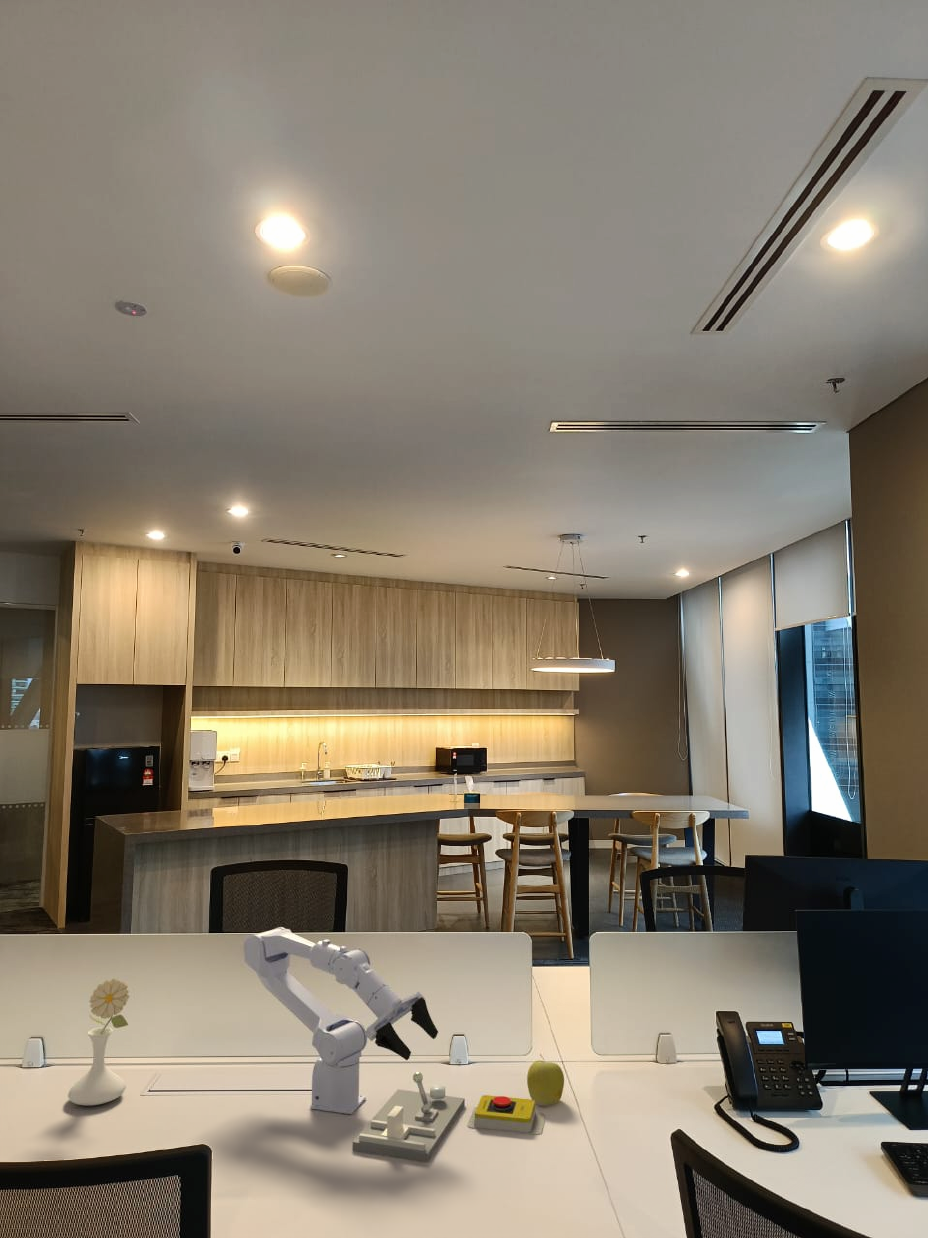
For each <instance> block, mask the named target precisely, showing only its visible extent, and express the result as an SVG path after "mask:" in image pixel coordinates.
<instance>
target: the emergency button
mask: <svg viewBox="0 0 928 1238" xmlns="http://www.w3.org/2000/svg"><path fill="white" fill-rule="evenodd" d="M546 1117H547V1115H546V1113H543V1112H539V1111H538V1112H537V1111H536V1104H535V1101H534V1100H532V1099H530V1098H519V1097H511V1096H510V1097H509V1096H508V1097H507V1096H504V1095H498V1096H497V1095H491V1094H490V1095H489V1094H483V1095H481V1096H480V1100H479V1102H478V1104H477V1106H476V1107H474V1108H473V1111H472V1113H471V1115H470V1117H469V1120H468V1122H467V1124H466V1125H467V1126H466V1127H467V1128H468V1129H469V1128H470V1129H474V1130H475V1129H476V1130H477V1129H478V1130H486V1131H493V1132H494V1131H497V1132H504V1133H505V1132H506V1133H514V1134H522V1135H523V1134H525V1135H537V1136H538V1135H539V1136H540V1135H542V1134H543V1129H544V1125H545V1121H546Z"/></svg>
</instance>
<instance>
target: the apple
mask: <svg viewBox="0 0 928 1238" xmlns="http://www.w3.org/2000/svg"><path fill="white" fill-rule="evenodd" d="M539 1056H540V1057H541V1058H542V1059H543V1060H541V1059H540V1060H536V1061H534V1062H532V1064H531V1065H530V1066H529V1068H528V1070H527V1074H526V1083H527V1089H528V1093H529V1096H530V1098H531V1100H534V1101H535V1105H538V1106H542V1107H548V1106H555V1105H557V1104H558V1103H559V1102H560V1100H561V1099H562V1095H563V1091H564V1086H565V1076H564V1073H563V1070H562V1068H561V1066H560V1065H559V1064H557V1063H555V1062H551V1061H545V1059H544V1057H543V1056H542V1054H539Z"/></svg>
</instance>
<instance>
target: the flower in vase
mask: <svg viewBox="0 0 928 1238" xmlns="http://www.w3.org/2000/svg"><path fill="white" fill-rule="evenodd" d="M128 988H129V987H128V984H126V982H123V981H121V980H119V979H116V978H112V979H110V980H105V981H104V982H102V983H99V984H98V985H97V987H96V989H93V992H92V995H90V999H89V1003H90V1006H89V1007H90V1008H91V1010H90V1013H88V1014H89V1016H90V1018H91V1020H92V1021H94V1022H97V1023H99V1024H101V1025H103V1026H102V1027H95V1028H92V1029H91V1030H89V1031H87V1035H88V1036H89V1038H90V1040H91V1043H92V1050H93V1051H92V1053H93V1056H92V1057H93V1059H92V1065H91V1067H90V1069H89V1071H88V1072H86V1073H85V1074H84V1075H83V1076H82V1077H80V1079H79V1080H77V1081H76V1082H75V1083H74V1084H73V1085H72V1086H71V1087H70V1089H69V1091H68V1094H67V1097H68V1099H69V1101H70V1102H71V1103H73V1104H75V1105H78V1106H79V1105H80V1106H97V1105H98V1106H99V1105H102V1104H106V1103H109V1102H111V1101H114V1100H115V1099H117V1098H119V1097H120V1096H122V1095H123V1093H124V1092H125V1090H126V1088H127V1086H126V1083H125V1080H124V1079H123V1078H121V1076H119V1075H117V1074H116V1073H114V1072H113V1071H112V1070H110V1069H109V1068H108V1067H107V1066H106V1061H105V1054H106V1048H107V1047H106V1046H107V1042H108V1040H109V1037H110V1035H111V1034H112V1033H113V1031H114V1030H113V1028H117V1029H119V1028H123V1027H127V1026H129V1024H128V1022H127V1019H125V1017H124V1016H123V1015H122V1014H120V1013H121V1012H122V1011H123V1010H124V1007H125V1006H126V1005H127V1002H128V1000H129V999H130V994H129V989H128ZM91 1014H92V1015H93V1016H92V1015H91ZM94 1016H96V1017H100V1018H101V1019H103V1020H106V1019H107V1018H109V1019H108V1021H107V1022H106V1024H105V1023H104V1022H103V1021H102V1020H100V1019H99V1018H96V1017H94ZM110 1022H111V1024H112V1026H113V1028H111V1027H108V1025H109V1023H110Z"/></svg>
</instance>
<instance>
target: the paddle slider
mask: <svg viewBox="0 0 928 1238" xmlns="http://www.w3.org/2000/svg"><path fill="white" fill-rule="evenodd" d="M408 1133H409V1127H403V1107H401V1106H395V1107H394V1108H393V1109H392V1111H391V1112H390V1113H389V1114H388V1115H387V1128H386V1129H385V1131H384V1132H383V1133H382V1134H381V1137H388V1138H394V1139H401V1140H404V1139H405V1137H406V1136H407V1135H408Z"/></svg>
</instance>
